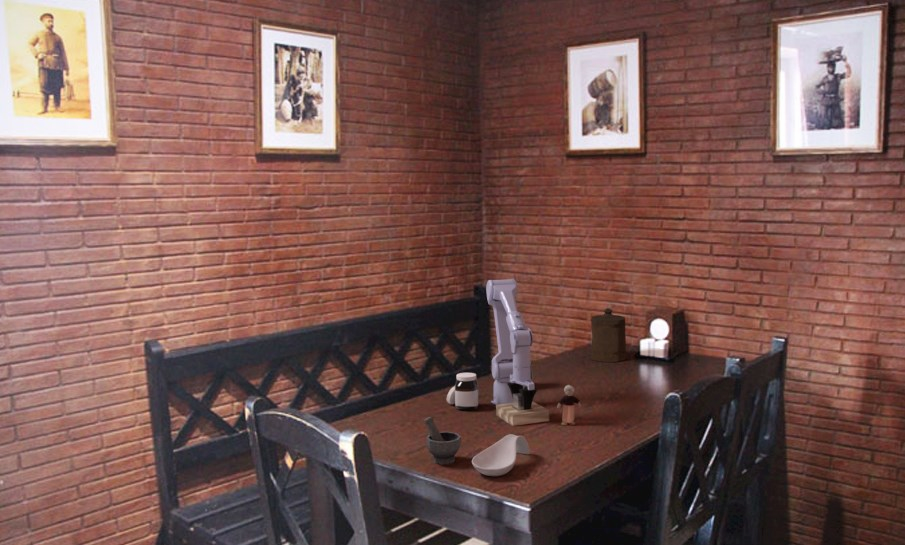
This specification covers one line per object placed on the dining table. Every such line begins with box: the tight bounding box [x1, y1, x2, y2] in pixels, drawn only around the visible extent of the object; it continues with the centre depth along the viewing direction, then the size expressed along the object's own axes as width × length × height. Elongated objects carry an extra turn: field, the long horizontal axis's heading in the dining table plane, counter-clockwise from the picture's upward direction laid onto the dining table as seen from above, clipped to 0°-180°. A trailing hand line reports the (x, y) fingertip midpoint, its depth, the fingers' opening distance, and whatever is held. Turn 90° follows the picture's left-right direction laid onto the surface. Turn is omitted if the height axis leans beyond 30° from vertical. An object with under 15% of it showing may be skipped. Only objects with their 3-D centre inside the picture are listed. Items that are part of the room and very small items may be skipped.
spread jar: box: [446, 372, 479, 411], centre depth 280 cm, size 12×11×12 cm
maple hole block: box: [495, 400, 550, 427], centre depth 266 cm, size 13×13×4 cm
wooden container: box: [590, 308, 627, 363], centre depth 349 cm, size 15×15×22 cm
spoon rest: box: [471, 433, 531, 477], centre depth 222 cm, size 24×12×7 cm, turn 150°
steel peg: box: [513, 393, 524, 411], centre depth 265 cm, size 4×4×8 cm
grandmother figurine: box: [556, 384, 582, 426], centre depth 258 cm, size 8×4×13 cm, turn 105°
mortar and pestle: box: [423, 416, 462, 465], centre depth 227 cm, size 11×9×12 cm
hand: (522, 406), depth 265 cm, fingers open, 7 cm apart
